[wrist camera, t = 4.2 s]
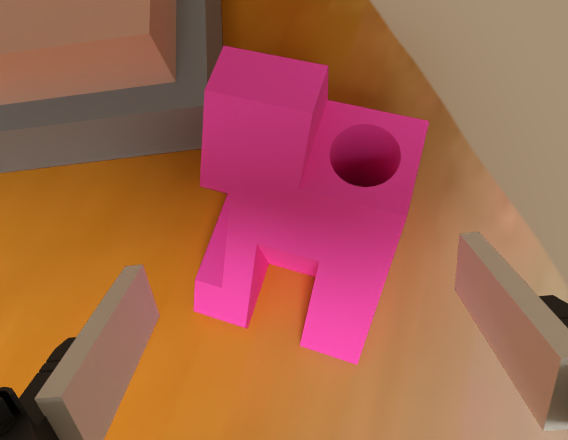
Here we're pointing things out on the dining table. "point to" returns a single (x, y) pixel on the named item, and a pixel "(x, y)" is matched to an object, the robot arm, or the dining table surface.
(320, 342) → the bracket
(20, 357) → the dining table surface
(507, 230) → the dining table surface
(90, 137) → the two-tone base plate
